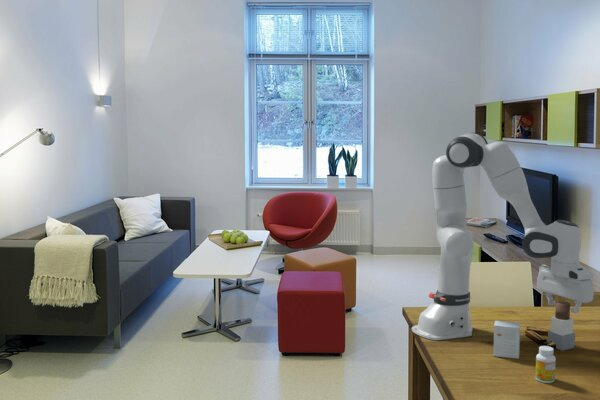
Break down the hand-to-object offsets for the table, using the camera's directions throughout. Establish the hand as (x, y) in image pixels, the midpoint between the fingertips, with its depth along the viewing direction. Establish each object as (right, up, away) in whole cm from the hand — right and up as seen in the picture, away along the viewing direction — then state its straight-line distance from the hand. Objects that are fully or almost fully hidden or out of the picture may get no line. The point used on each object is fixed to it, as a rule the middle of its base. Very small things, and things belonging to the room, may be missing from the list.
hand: (563, 309), depth 213 cm
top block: (0, -8, +1) cm, 8 cm away
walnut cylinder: (0, -3, 0) cm, 3 cm away
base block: (0, -13, +2) cm, 13 cm away
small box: (-21, -14, -6) cm, 26 cm away
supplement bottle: (-16, -17, -25) cm, 34 cm away
